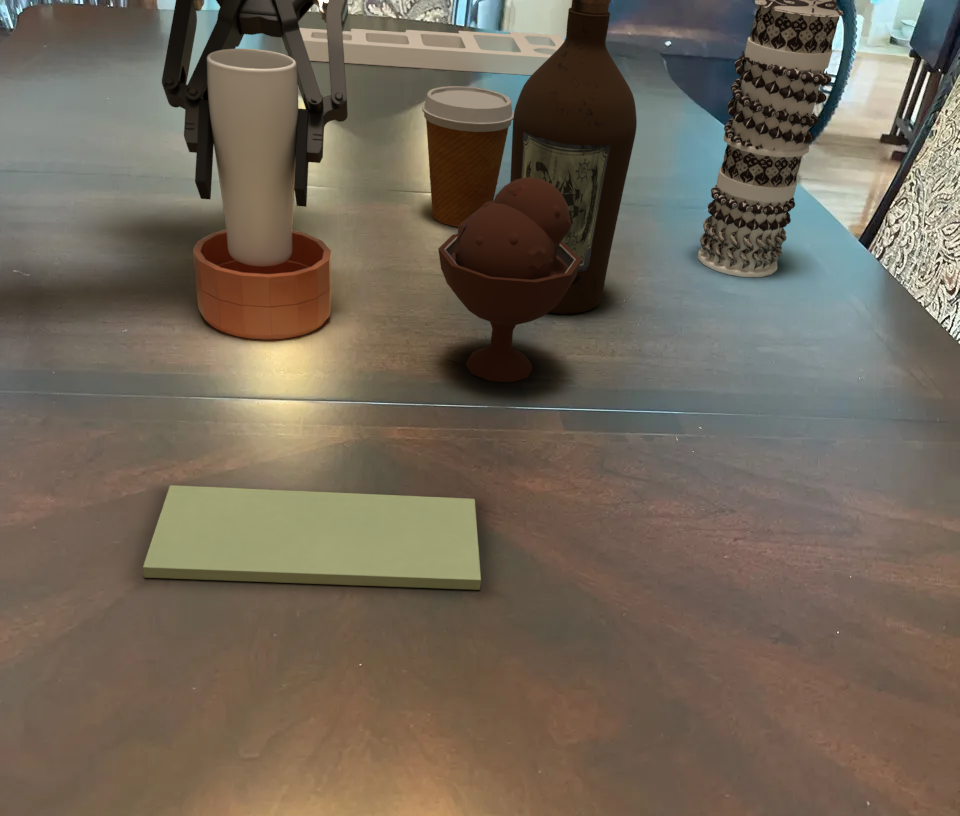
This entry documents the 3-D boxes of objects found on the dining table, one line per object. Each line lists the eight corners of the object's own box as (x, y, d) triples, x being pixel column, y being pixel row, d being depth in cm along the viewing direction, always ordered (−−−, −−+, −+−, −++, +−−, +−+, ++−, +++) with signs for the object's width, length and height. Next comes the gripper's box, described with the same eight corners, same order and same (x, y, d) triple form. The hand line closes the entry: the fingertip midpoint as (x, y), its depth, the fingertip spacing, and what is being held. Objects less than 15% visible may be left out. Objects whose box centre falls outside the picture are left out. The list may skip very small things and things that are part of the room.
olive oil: (509, 266, 105) (539, -27, 89) (614, 283, 104) (663, -10, 87) (486, 306, 97) (514, -8, 81) (599, 325, 95) (650, 11, 79)
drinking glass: (276, 279, 85) (269, 74, 76) (203, 261, 87) (187, 58, 77) (315, 253, 90) (313, 58, 81) (245, 236, 92) (235, 43, 82)
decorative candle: (684, 266, 109) (743, -14, 93) (703, 239, 115) (761, -26, 99) (772, 285, 107) (848, 2, 90) (786, 257, 113) (859, -12, 97)
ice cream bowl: (481, 327, 93) (496, 148, 83) (588, 368, 89) (617, 183, 79) (406, 366, 86) (414, 175, 77) (519, 411, 82) (542, 215, 72)
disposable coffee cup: (488, 239, 110) (499, 115, 102) (404, 222, 112) (408, 99, 104) (515, 212, 117) (527, 95, 109) (435, 197, 119) (441, 80, 111)
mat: (144, 577, 62) (142, 567, 62) (171, 495, 69) (169, 484, 69) (480, 590, 64) (481, 579, 63) (473, 508, 71) (474, 498, 70)
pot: (190, 337, 87) (183, 271, 83) (210, 284, 95) (205, 222, 92) (326, 344, 88) (325, 280, 84) (334, 291, 96) (333, 231, 93)
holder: (293, 59, 163) (293, 39, 161) (296, 34, 177) (295, 16, 175) (577, 78, 169) (579, 59, 167) (558, 52, 183) (560, 35, 181)
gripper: (128, -135, 79) (109, 158, 77) (390, -107, 81) (378, 179, 79) (149, -61, 87) (133, 208, 85) (389, -37, 88) (378, 226, 86)
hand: (251, 193), depth 82 cm, fingers closed on drinking glass, 7 cm apart
